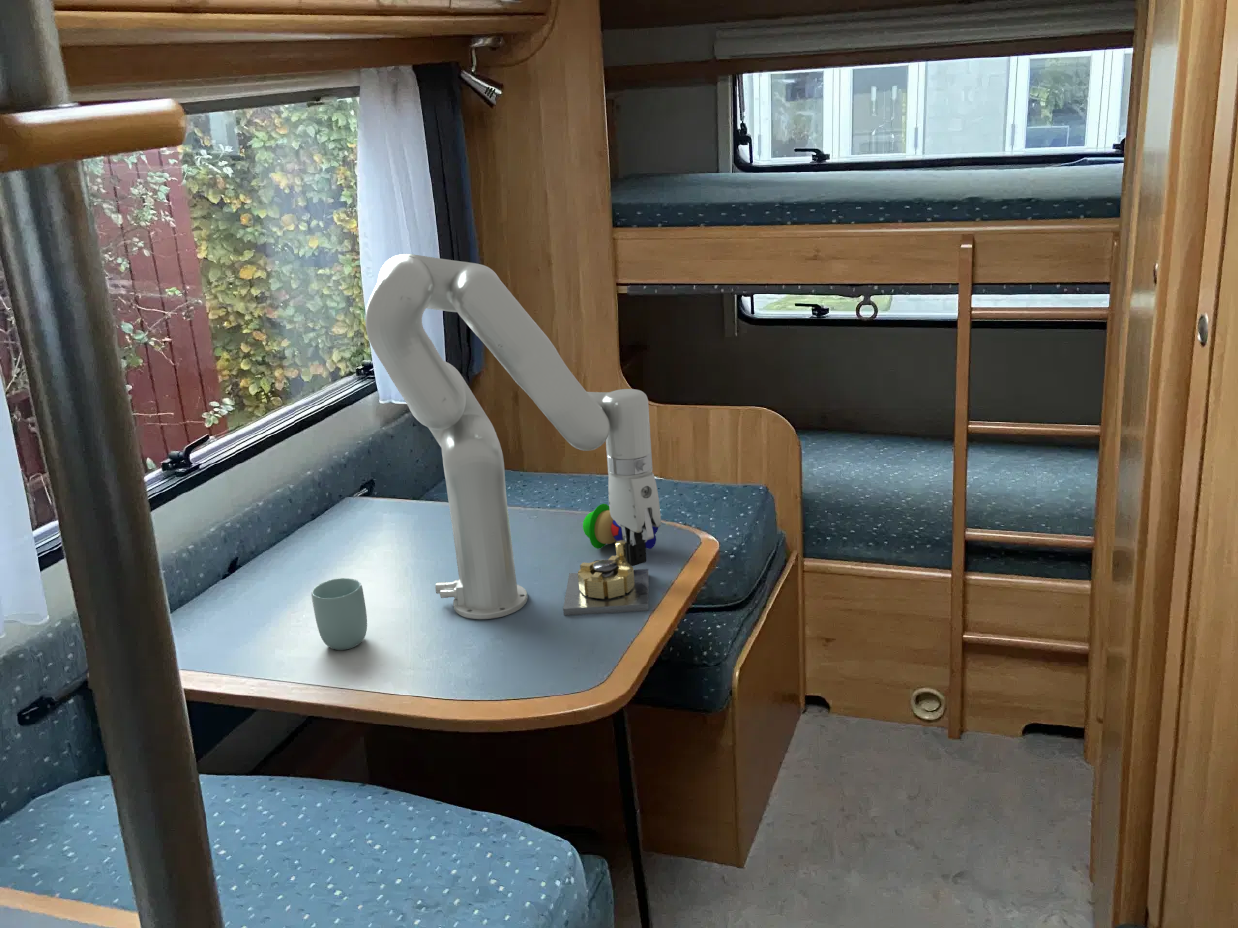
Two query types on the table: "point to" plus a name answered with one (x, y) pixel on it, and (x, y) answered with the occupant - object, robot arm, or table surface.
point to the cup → (340, 612)
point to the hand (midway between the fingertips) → (636, 562)
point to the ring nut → (610, 585)
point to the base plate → (589, 605)
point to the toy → (606, 528)
